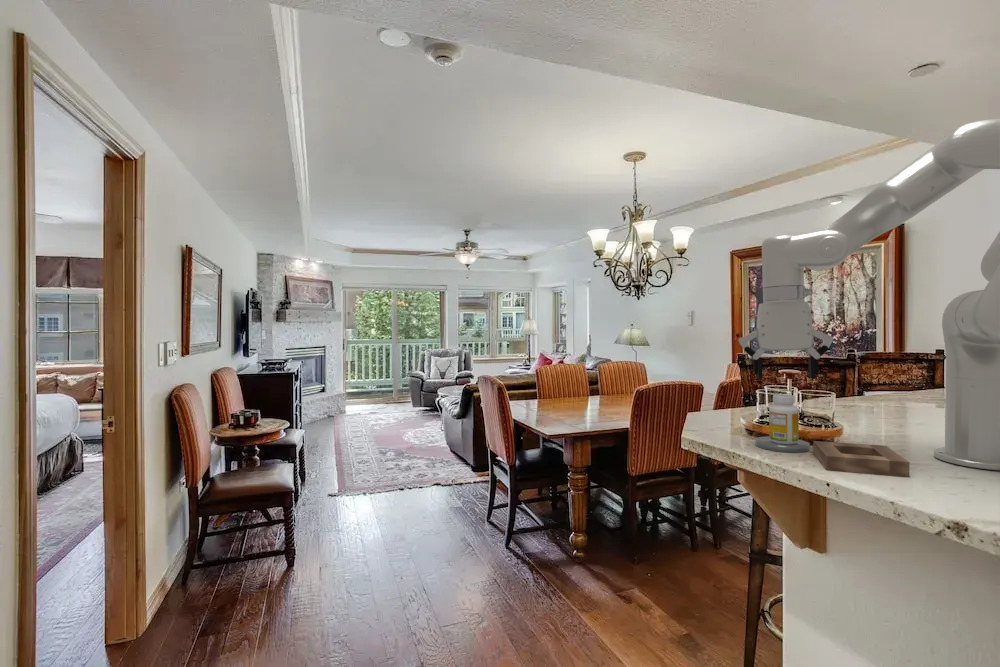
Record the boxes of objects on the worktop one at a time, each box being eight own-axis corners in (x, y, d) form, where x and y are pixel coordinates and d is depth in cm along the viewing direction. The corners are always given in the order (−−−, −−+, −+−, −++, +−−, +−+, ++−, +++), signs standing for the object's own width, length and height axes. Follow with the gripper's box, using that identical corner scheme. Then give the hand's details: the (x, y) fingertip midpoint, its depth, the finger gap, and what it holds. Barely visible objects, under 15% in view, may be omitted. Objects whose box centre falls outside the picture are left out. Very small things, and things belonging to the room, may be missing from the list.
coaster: (804, 443, 111) (804, 438, 111) (814, 454, 101) (814, 449, 101) (753, 439, 114) (753, 435, 114) (757, 450, 105) (757, 445, 105)
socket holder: (885, 458, 98) (886, 445, 98) (909, 476, 87) (909, 462, 87) (813, 453, 102) (813, 440, 102) (826, 470, 91) (826, 455, 91)
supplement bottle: (791, 439, 110) (791, 393, 110) (803, 445, 105) (803, 397, 105) (765, 438, 111) (764, 393, 110) (775, 444, 105) (775, 397, 105)
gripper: (827, 294, 107) (829, 376, 108) (736, 298, 114) (738, 376, 114) (836, 292, 100) (838, 380, 101) (738, 297, 107) (741, 379, 107)
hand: (785, 378), depth 107 cm, fingers open, 9 cm apart
